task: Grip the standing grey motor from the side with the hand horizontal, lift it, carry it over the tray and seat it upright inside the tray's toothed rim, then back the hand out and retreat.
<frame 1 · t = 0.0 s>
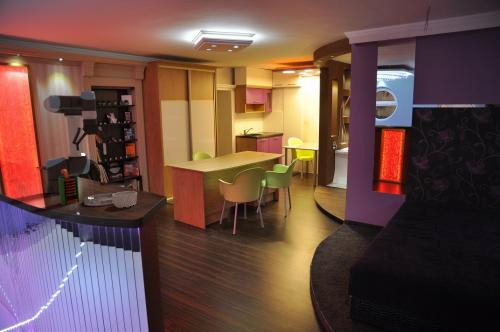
hand: (92, 155, 199), 28 cm above the countertop, tool pointing down, fingers open, 13 cm apart
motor: (69, 203, 202), on the countertop
tray: (102, 201, 203), on the countertop
ramekin: (125, 205, 194), on the countertop
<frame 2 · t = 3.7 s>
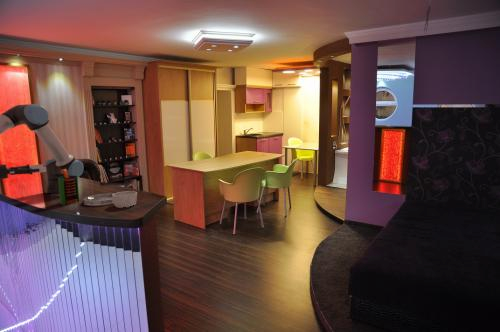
hand: (44, 167, 193), 22 cm above the countertop, tool horizontal, fingers open, 13 cm apart
nothing on the countertop moved.
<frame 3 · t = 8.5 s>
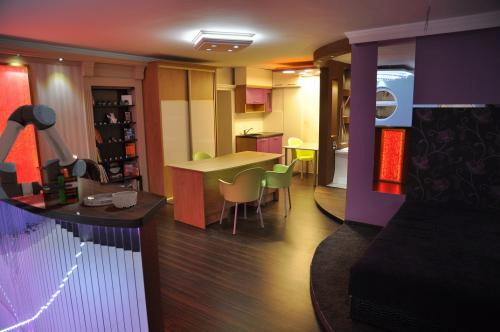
hand: (76, 183, 204), 11 cm above the countertop, tool horizontal, fingers closed on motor, 7 cm apart
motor: (69, 202, 202), on the countertop, touching gripper
everything else where it was.
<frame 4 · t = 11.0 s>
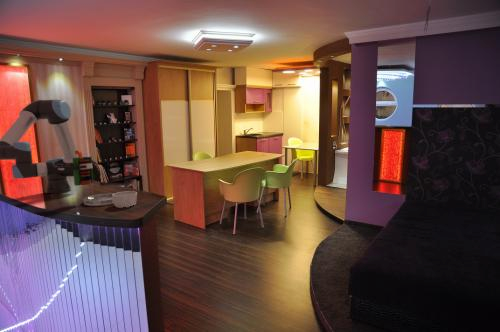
hand: (91, 165, 201), 22 cm above the countertop, tool horizontal, fingers closed on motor, 7 cm apart
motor: (83, 184, 200), point 11 cm above the countertop, touching gripper
everything else where it was.
when the fingers open (13 cm above the countertop, at t = 13.8 s): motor drops 1 cm, resting on tray.
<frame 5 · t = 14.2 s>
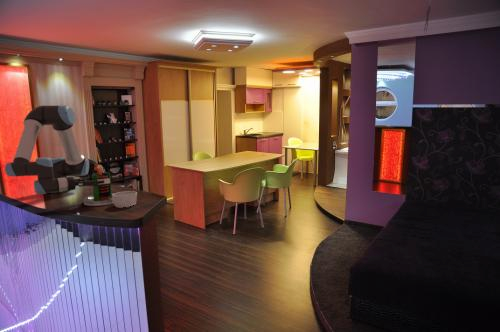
hand: (106, 179, 203), 13 cm above the countertop, tool horizontal, fingers open, 13 cm apart
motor: (102, 200, 203), point 1 cm above the countertop, touching tray
everything else where it was.
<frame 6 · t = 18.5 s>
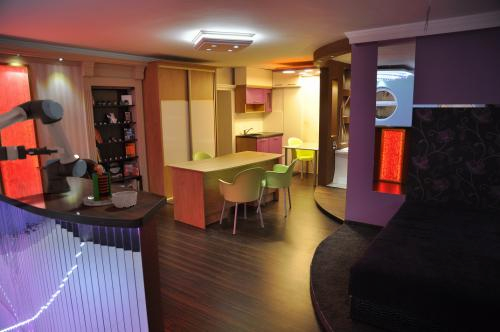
hand: (62, 149, 193), 32 cm above the countertop, tool horizontal, fingers open, 13 cm apart
nothing on the countertop moved.
at the end: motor inside the target area on the tray (0.2 cm from its centre), point 1.0 cm above the tray's base; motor tilted 0°; the gripper is holding nothing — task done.
